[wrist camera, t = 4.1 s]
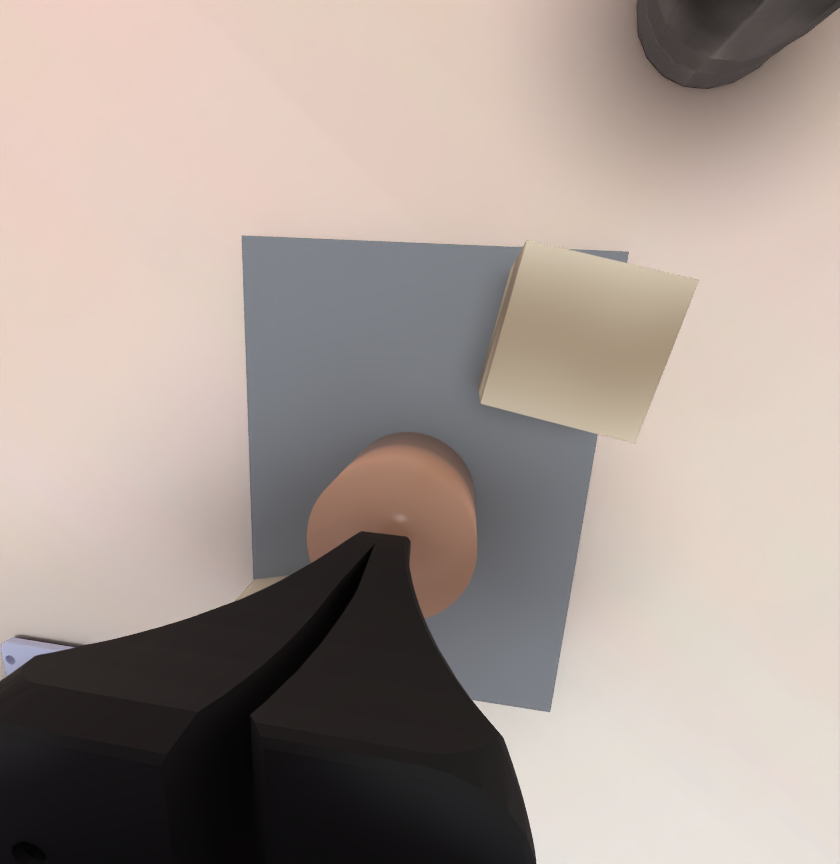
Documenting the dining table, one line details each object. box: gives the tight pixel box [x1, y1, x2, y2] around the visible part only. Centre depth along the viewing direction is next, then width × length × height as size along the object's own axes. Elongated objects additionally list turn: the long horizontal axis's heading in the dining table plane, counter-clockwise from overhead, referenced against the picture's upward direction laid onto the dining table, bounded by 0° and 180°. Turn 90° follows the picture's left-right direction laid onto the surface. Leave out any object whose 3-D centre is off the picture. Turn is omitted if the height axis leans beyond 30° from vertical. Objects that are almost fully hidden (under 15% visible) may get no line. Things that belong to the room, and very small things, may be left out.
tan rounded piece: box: [307, 432, 477, 619], centre depth 14 cm, size 5×5×4 cm
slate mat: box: [242, 236, 629, 712], centre depth 16 cm, size 18×13×1 cm
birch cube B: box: [478, 240, 699, 444], centre depth 12 cm, size 4×4×4 cm
